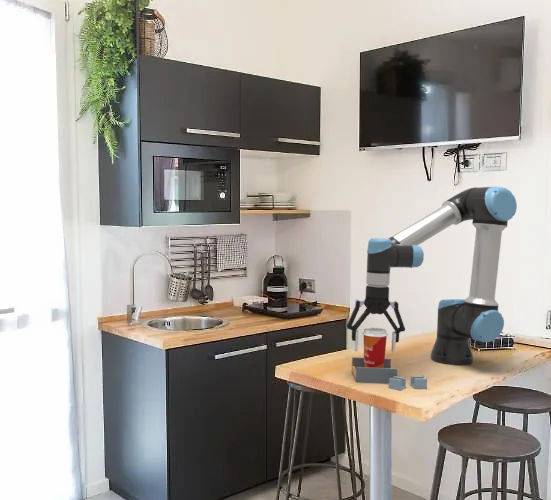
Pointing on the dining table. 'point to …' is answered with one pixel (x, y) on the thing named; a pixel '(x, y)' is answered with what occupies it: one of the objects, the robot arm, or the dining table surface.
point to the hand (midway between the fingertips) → (374, 351)
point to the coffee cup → (374, 347)
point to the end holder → (372, 372)
